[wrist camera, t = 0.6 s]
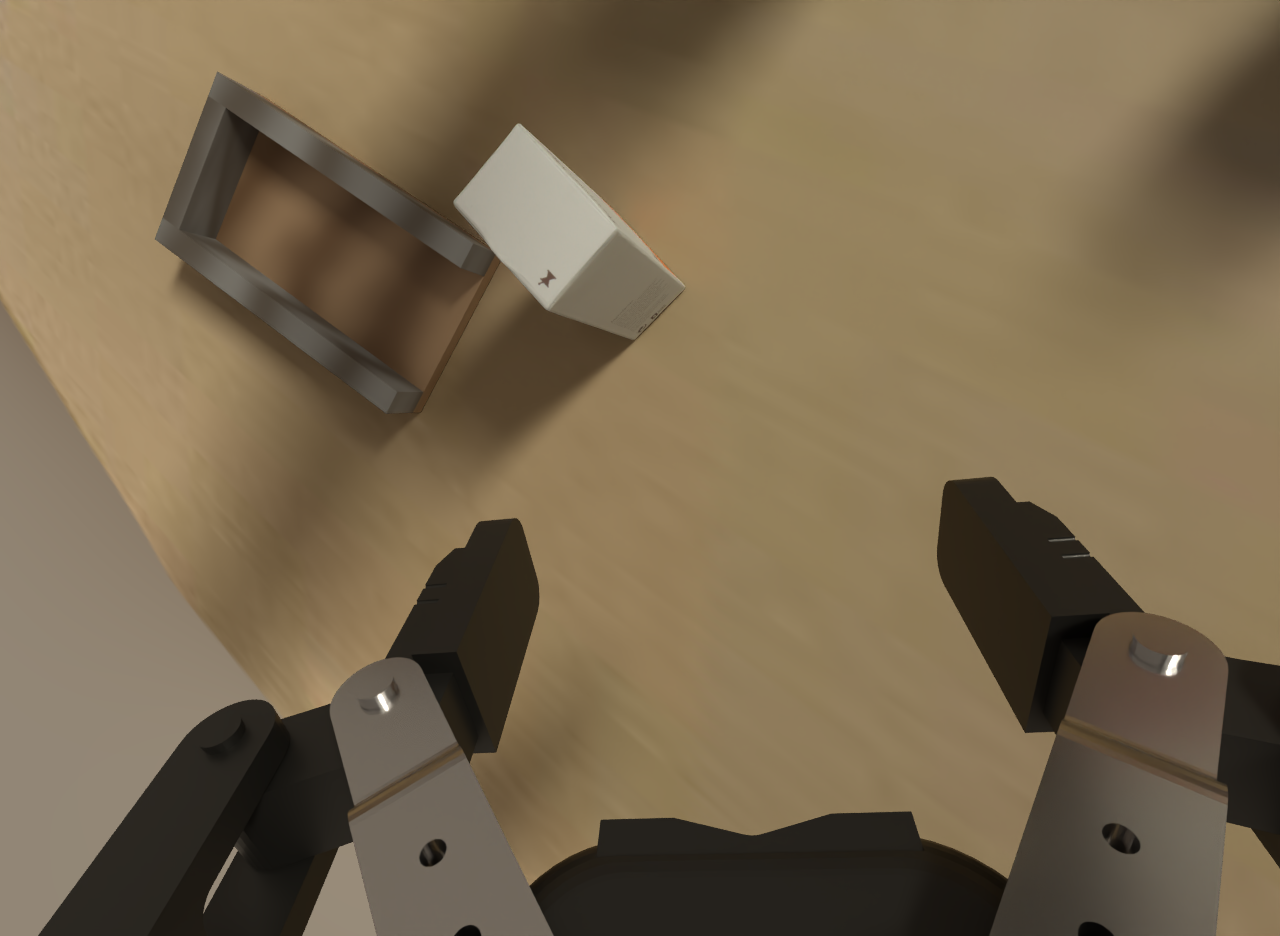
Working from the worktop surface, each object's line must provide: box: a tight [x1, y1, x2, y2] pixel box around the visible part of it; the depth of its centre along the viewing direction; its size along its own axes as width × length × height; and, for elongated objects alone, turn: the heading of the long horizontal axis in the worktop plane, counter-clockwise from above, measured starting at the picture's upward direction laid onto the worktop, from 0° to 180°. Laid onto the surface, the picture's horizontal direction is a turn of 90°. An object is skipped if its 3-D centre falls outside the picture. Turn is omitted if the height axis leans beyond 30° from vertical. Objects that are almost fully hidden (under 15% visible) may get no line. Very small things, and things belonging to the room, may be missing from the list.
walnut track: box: [155, 72, 500, 414], centre depth 39 cm, size 20×11×3 cm, turn 57°
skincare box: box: [454, 124, 685, 340], centre depth 29 cm, size 6×4×12 cm
